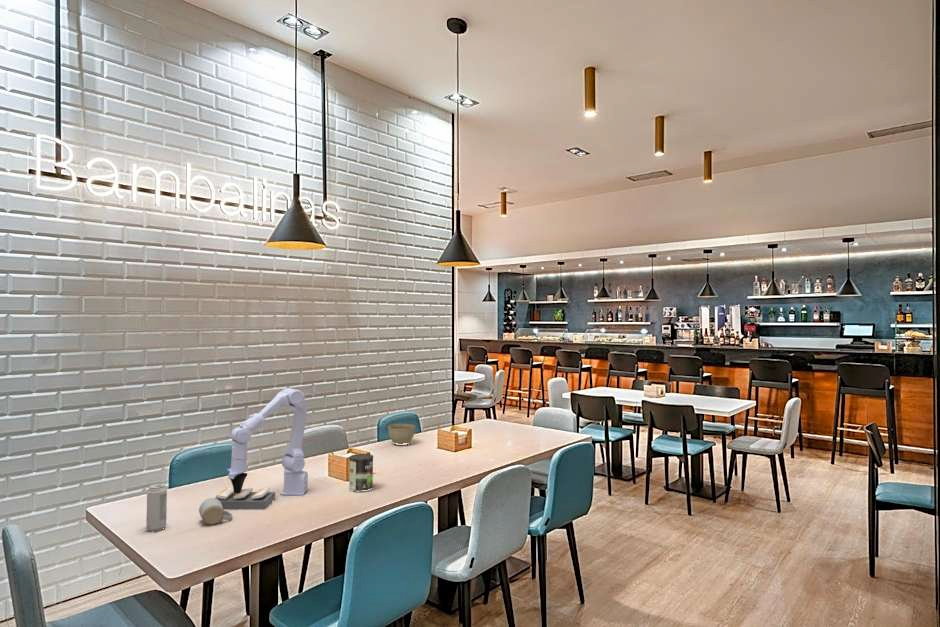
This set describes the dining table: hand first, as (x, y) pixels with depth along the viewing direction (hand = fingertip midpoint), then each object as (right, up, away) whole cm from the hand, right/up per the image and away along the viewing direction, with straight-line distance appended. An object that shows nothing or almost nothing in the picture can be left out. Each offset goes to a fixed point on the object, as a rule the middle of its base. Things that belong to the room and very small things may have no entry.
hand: (237, 492), depth 216 cm
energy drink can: (-17, -4, -26) cm, 32 cm away
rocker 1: (-5, -1, 0) cm, 5 cm away
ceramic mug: (0, -5, -18) cm, 19 cm away
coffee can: (+45, -6, +21) cm, 50 cm away
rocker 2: (+9, -1, 0) cm, 9 cm away
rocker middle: (+2, -1, 0) cm, 2 cm away
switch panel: (+2, -5, 0) cm, 5 cm away
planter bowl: (+51, -7, +109) cm, 120 cm away
